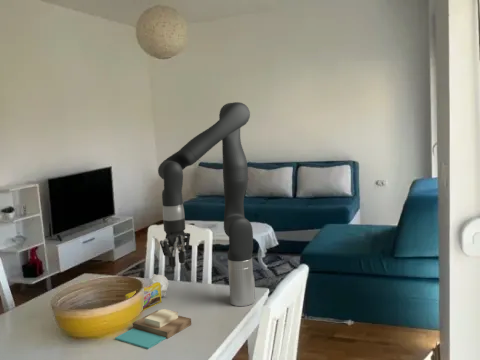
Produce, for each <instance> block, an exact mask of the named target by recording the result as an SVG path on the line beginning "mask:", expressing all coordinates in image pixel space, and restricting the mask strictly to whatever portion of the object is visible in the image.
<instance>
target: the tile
mask: <svg viewBox="0 0 480 360" xmlns="http://www.w3.org/2000/svg"><path fill="white" fill-rule="evenodd" d="M157 311H158V312H156V313H154V314H152V315H150V316H148V317H146V318H145V324H148V325H152V326H155V327H159V328H161V327H162V326H164V325H166V324H168V323H170V322H171V321H173V320H175V319H177V318H178V316H179V312H178V311H173V310H171V309H165V308H161V309H160V310H157Z"/></svg>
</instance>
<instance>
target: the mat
mask: <svg viewBox="0 0 480 360" xmlns="http://www.w3.org/2000/svg"><path fill="white" fill-rule="evenodd" d="M114 339H115V340H116V341H119V342H120V341H121V342H124V343H126V344H130V345H133V346H137V347H141V348H143V349H146V350H149V349H151V348H152V347H154V346H156V345H158V344H159V343H160V342H163V341H165V340H166V339H167V338H166V337H163V336H159V335H156V334H152V333H149V332H145V331H141V330H138V329H134V328H133V327H132V328H131V329H130V330H127V331H125V332H124V333H122V334H120V335H117V336H116V337H115V338H114Z"/></svg>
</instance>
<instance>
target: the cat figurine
mask: <svg viewBox="0 0 480 360" xmlns="http://www.w3.org/2000/svg"><path fill="white" fill-rule="evenodd" d="M156 282H159V283H160V284H161V298H162V297H166V293H167V292H168V289H169V285H170V284H169V279H168V278H167V277H166V276H165V275H162V274H155V273H153V275H152V277H151V278H150V280H149V283H148V286H149V285H151V284H154V283H156Z"/></svg>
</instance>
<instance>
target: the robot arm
mask: <svg viewBox="0 0 480 360" xmlns="http://www.w3.org/2000/svg"><path fill="white" fill-rule="evenodd" d="M250 117H251V111H250V109H249V107H248V106H247V105H246V104H245V103H243V102H238V101H237V102H234V101H233V102H227V103H225V104H224V105H222V107H221V108H220V110H219V116H218V119H219V120H217V121H216V122H215V123H214V124H213V125H211V126H210V127H208V128H207V129H205V130H204V131H202V132H200V133H199V134H197V135H195V136H194V137H193V138H191V139H190V140H188V142H187V143H186V144H184V145H183V146H182V147H181V148H180V149H179V150H177V151H176V152H174V153H173V154H172V155H170V156H168V157H167V158H165V160H163V161H162V162H161V163H160V164H159V166H158V168H157V172H158V174H157V175H158V176H159V177H160V178H161V179H162V180H163V190H162V192H161V201H162V220H163V221H162V222H163V231H164V232H165V238H164V239H163V240H159V244H160V248H161V251H162V253H163V256H165V257H168V266H169V267H171V268H175V267H176V266H177V263H176V250H177V251H178V252H177V254H178V256H177V257H178V263H179V264H185V262H186V257H185V256H186V254H185V253H186V251H188V250H189V247H190V240H191V233H190V232H189V233H188V232H185V230H186V221H185V220H186V218H185V208H184V200H183V191H182V190H183V182H184V173H183V171H184V170H185V169H186V168H187V167H189V166H190V167H191V166H192V165H194V164H196V162H198V161H199V160H200V159H201V158H203V156H205V155H206V154H207V153H208V152H209V151H210V150H212V149H213V148H214V147H215V146H217V144H218V143H220V142H221V141H222V143H221V144H222V147H221V150H222V180H223V195H224V218H223V231H224V233H225V235H226V236H227V237H228V243H229V244H228V246H229V247H228V250H227V253H226V256H227V268H228V269H227V270H228V283H229V298H230V304H231V305H233V306H236V307H246V306H250V305H252V304H254V303H255V301H256V286H255V275H254V269H253V251H254V234H253V233H254V232H253V226H252V223H251V222H250V221H249V220H248V219H247V218H246V217H245V208H244V202H245V201H244V200H245V196H246V195H245V194H246V191H247V187H248V181H249V174H248V172H249V171H248V168H249V167H248V162H247V157H246V154H245V151H244V148H243V145H242V140H241V128H242V127H244V126H245V125H247V123H248V122H249V120H250Z"/></svg>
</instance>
